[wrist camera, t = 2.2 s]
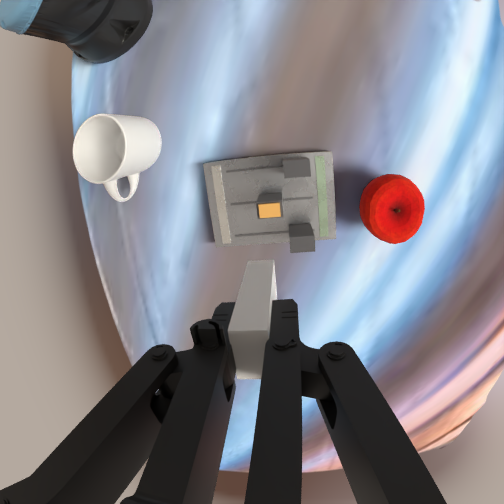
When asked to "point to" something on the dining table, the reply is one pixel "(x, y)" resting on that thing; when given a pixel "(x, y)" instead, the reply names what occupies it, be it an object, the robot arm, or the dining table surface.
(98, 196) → the dining table surface
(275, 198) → the block
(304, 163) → the block
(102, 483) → the robot arm
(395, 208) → the apple
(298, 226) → the breaker
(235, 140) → the dining table surface
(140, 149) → the mug
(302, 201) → the panel
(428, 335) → the dining table surface
